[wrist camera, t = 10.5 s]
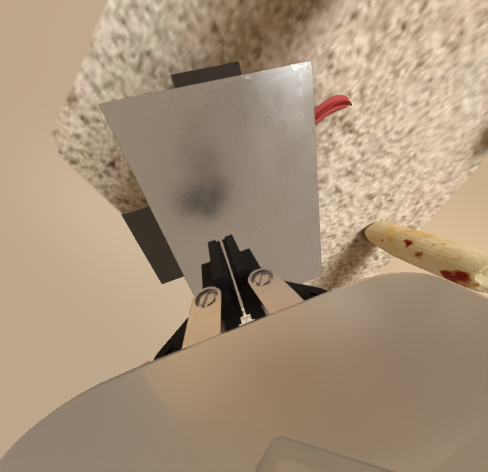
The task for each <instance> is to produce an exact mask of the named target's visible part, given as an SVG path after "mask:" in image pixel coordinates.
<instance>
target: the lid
mask: <svg viewBox="0 0 488 472" xmlns="http://www.w3.org/2000/svg"><path fill="white" fill-rule="evenodd" d="M99 106H100V108H101V110H102V112H103V114H104V116H105V118H106V120H107V122H108V124H109V126H110V128H111V130H112V132H113V134H114V136H115V138H116V140H117V142H118V144H119V146H120V148H121V150H122V152H123V154H124V156H125V158H126V160H127V162H128V164H129V166H130V168H131V170H132V172H133V174H134V176H135V178H136V180H137V182H138V184H139V186H140V188H141V190H142V192H143V194H144V196H145V198H146V200H147V202H148V204H149V205H145V206H142V207H138V208H135V209H132V210H128V211H126V212H124V213H123V214H121V215H122V217H123V218H124V220H125V222H126V223H127V225H128V227H129V229H130V230H131V232H132V234H133V235H134V237H135V239H136V241H137V242H138V244H139V246H140V247H141V249H142V251H143V252H144V254H145V256H146V257H147V259H148V261H149V263H150V264H151V266H152V268H153V270H154V271H155V273H156V275H157V276H158V278H159V280H160V282H161V283H162V284H164V283H166V282H169V281H172V280H175V279H178V278H181V277H183V276H184V277H185V278H186V281H187V282H188V285H189V287H190V289H191V290H192V293H193V295H194V296H195V295H196V294H197V293H198V292H199V291H200V290H202V289H203V288H202V269H201V265H202V264H204V263H207V262H210V256H209V249H208V242H210V241H213V240H216V242H217V241H220V244H221V247H222V250H223V253H224V256H225V259H226V261H227V264H228V267H229V270H230V273H231V276H232V280H233V283H234V286H235V289H236V293H237V296H238V299H239V303H240V306H241V308H242V307H244V306H243V303H242V300H241V297H240V294H239V291H238V288H237V285H236V282H235V279H234V276H233V273H232V270H231V267H230V264H229V261H228V258H227V255H226V251H225V248H224V245H223V242H222V240H223V239H225V238H224V237H225V236H228V235H231V234H232V235H233V237H234V240H235V242H236V244H237V246H238V248H239V250H240V251H243V250H245V249H248V248H249V249H250V250H251V252H252V253H253V255H254V257H255V259H256V260H257V262H258V264H259V265H260V267H261V268H269V269H272V270H273V271H275V272H276V273H277V274H278V275H279V276H280V277H281V278H282V279H283V280H284V281H288V282H293V283H298V284H302V283H304V282H307V281H309V280H311V279H314V278H316V277H319V276H321V275H322V265H321V243H320V222H319V200H318V179H317V157H316V136H315V114H314V93H313V71H312V61H307V62H302V63H297V64H292V65H287V66H283V67H278V68H273V69H268V70H263V71H258V72H253V73H248V74H243V75H238V76H234V77H229V78H224V79H219V80H214V81H209V82H204V83H199V84H194V85H190V86H185V87H180V88H175V89H170V90H165V91H160V92H155V93H150V94H145V95H141V96H136V97H131V98H126V99H121V100H116V101H111V102H106V103H101V104H99Z"/></svg>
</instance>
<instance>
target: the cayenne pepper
mask: <svg viewBox="0 0 488 472" xmlns="http://www.w3.org/2000/svg"><path fill="white" fill-rule="evenodd" d="M348 104H350V105H352V104H351V102H350V101H349V100H348V98H347V97H346V96H344V95H336V96H333V97H331V98H329V99H328V100H326V101H325V102H323V103H322V104H321V105H319V106H318V107H316V108H315V109H314V114H315V124H317V123H319V122H320V121H321V120H322V119H324V118H325V117H326V116H327V115H329V114H330V113H332V112H334V111H336V110H339V109H342V108H345V107H347V105H348Z"/></svg>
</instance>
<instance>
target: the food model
mask: <svg viewBox="0 0 488 472" xmlns="http://www.w3.org/2000/svg"><path fill="white" fill-rule="evenodd" d="M364 234H365V236H366V238H367V239H368V240H369V241H370V242H372V243H373V244H374V245H376V246H378V247H379V248H381V249H383V250H384V251H386V252H388V253H389V254H391V255H393V256H395V257H397V258H399V259H401V260H403V261H406V262H408V263H410V264H412V265H415V266H417V267H419V268H421V269H424V270H426V271H428V272H431V273H433V274H435V275H437V276H440V277H442V278H444V279H447V280H449V281H451V282H454V283H456V284H459V285H461V286H464V287H466V288H469V289H472V290H475V291H479V292H486V293H488V253H487V252H484V251H480V250H477V249H474V248H470V247H467V246H464V245H461V244H458V243H455V242H452V241H449V240H446V239H443V238H440V237H438V236H434V235H431V234H428V233H424V232H421V231H417V230H414V229H410V228H407V227H403V226H399V225H396V224H392V223H388V222H381V221H379V222H375V223H373V224H372V225H370V226H369V227H367V228H366V229H365V233H364Z"/></svg>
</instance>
